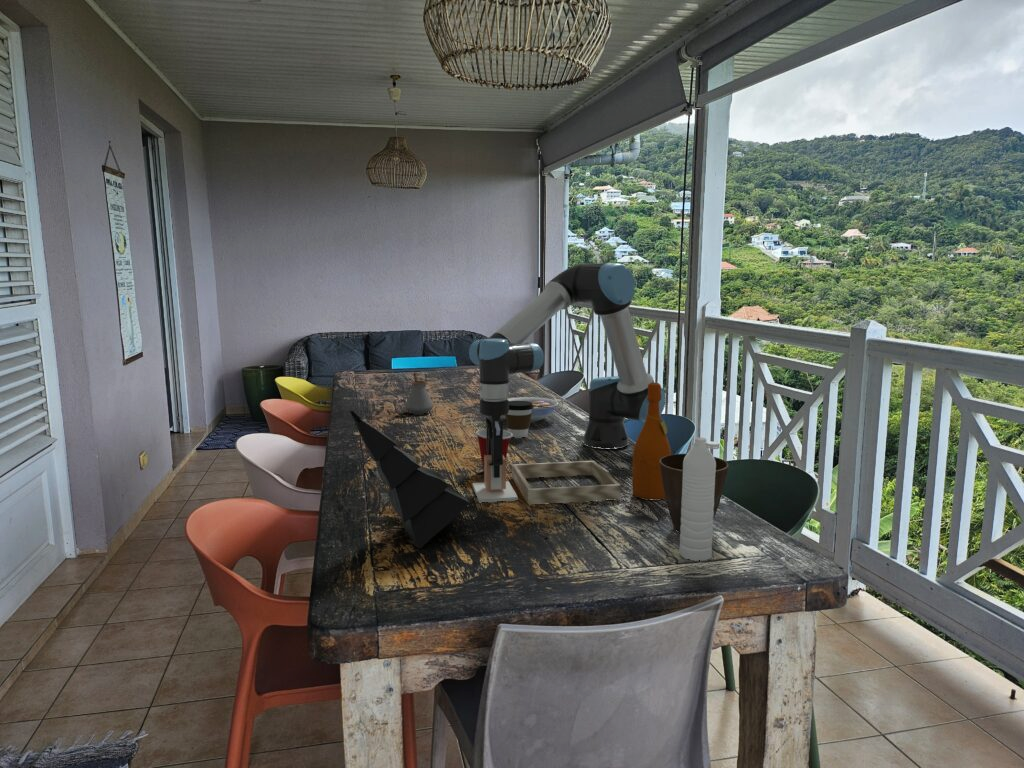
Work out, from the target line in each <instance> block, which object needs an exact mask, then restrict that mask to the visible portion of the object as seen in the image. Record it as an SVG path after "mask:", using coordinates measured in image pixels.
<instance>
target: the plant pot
mask: <svg viewBox="0 0 1024 768" xmlns="http://www.w3.org/2000/svg"><path fill="white" fill-rule="evenodd" d="M686 455H687V453H673V454H671V455H668V456H665V457H662V458H661V459H660V469H661V477H662V484H663V489H664V494H665V499H664V500H665V502H666V506H667V511H668V513H669V517H670V519H671V522H672V526H673V528H674V530H675V529H676V530H677V531H679V532H680V526H681V507H682V505H681V500H682V484H683V483H682V481H683V460H684V458H685V456H686ZM713 457H714V458H715V461H716V472H715V489H714V490H715V492H714V508H713V510H714V516H713V520H714V518H715V516H716V514H717V511H718V508H719V505H720V503H721V499H722V497H723V492H724V489H725V485H726V480H727V477H728V476H727V475H728V471H729V463H728V462H727V460H725V459H722V458H719V457H716V456H713ZM676 530H675V531H676ZM677 531H676V532H677ZM679 532H678V533H679Z"/></svg>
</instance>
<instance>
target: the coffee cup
mask: <svg viewBox="0 0 1024 768" xmlns="http://www.w3.org/2000/svg"><path fill="white" fill-rule="evenodd" d="M533 408H534V406H533V404H532V403H531V402H529V401H509V412H508V414H506V415H504V416H505V423H506V428H507V431H508V432H511V433H512V434H513V436H512V437H515V438H514V439H523V438H522V437H525V438H527V437H528V435H529V428H530V427H531V426H530V425H531V423H530V420H531V414H532V413H531V411H532V409H533ZM512 437H511V438H512Z"/></svg>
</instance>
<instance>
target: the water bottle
mask: <svg viewBox="0 0 1024 768" xmlns="http://www.w3.org/2000/svg"><path fill="white" fill-rule="evenodd" d="M710 449H711V450H717V449H720V442H718V441H710V440H709V441H707V438H705V437H700V436H698V437H694V441H693V445H692V447H691V448H690V449H689V450H688V452H687V453H686V454H687V455H686V456H685V458H684V460H683V481H682V483H683V484H682V500H681V505H682V507H681V526H680V532H681V533H679V548H678V549H679V551H678V552H679V555H681V556H682V558H683V557H684V558H683V559H685V558H686V559H685V560H687V559H690V561H691V560H696V561H695V562H703V561H702V560H706V561H708V560H707V559H709V558H710V559H712V554H713V534H714V533H713V532H714V528H713V527H714V526H713V525H714V519H713V516H714V510H713V508H714V492H715V490H714V489H715V472H716V461H715V458H714V457H715V456H714V455H713V454H712V451H711V450H710ZM681 556H680V557H681ZM710 559H709V560H710ZM699 560H700V561H699Z"/></svg>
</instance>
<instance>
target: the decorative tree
mask: <svg viewBox="0 0 1024 768" xmlns="http://www.w3.org/2000/svg"><path fill="white" fill-rule="evenodd" d="M349 412H350V415H351V417H352V418H353V420H354V424H355V426H356V429H357V431H358V433H359V434H360V437H361V440H362V442H363V444H364V447H365V448H366V449H367V452H368V453H369V456H370V458H371V459H372V460H373V461H374V462H376V463H375V464H376V466H377V469H378V472H379V474H380V475H381V477H382V479H383V480H384V482H385V483H386V485H387V487H388V491H389V498H390V505H391V507H392V509H393V511H394V512H395V513H396V514H397V515H398V516H399V517H400V519H401V521H402V528H403V529H404V531H406V532H407V535H408V536H409V539H410V540H411V539H412V540H413V541H414V542H415V543H414V542H413V541H412V540H411V541H412V542H413V543H414V544H415V546H416V545H417V546H418V547H417V546H416V547H417V548H418V549H419V548H420V549H421V548H422V547H424V546H425V544H427V543H428V542H429V541H430V540H431V539H432V538H433V537H435V536H436V535H437V534H440V535H446V534H447V533H449V532H450V531H451V529H453V526H454V523H453V522H452V521H453V520H454V519H455V518H456V517H457V516H458V515H459V514H460V513H462V511H464V510H465V509H466V508H467V507H468V506H469V505H470V504H471V502H470V501H469V500H468V499H467V498H466V497H465V496H464V495H463V494H462V493H461V492H459V491H458V490H456V488H454V487H453V485H452V484H450V483H448V482H447V481H446V480H445V479H444V478H443V476H442V475H440V473H439V472H437V471H436V470H434V469H432V468H428V467H425V466H421V465H420V464H418V462H417V461H416V459H415V457H414V456H413V455H411V454H409V453H408V452H406V451H405V450H402V449H400V448H399V447H396V446H397V443H396V441H394V440H392V439H391V437H389V436H388V435H386V434H385V433H384V432H383V431H381V430H379V429H378V428H376V427H375V426H374V425H372V424H371V423H369V422H367V421H366V420H364V419H362V418H361V417H360V416H359V415H358V414H357V413H355V411H353V410H349Z"/></svg>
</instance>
